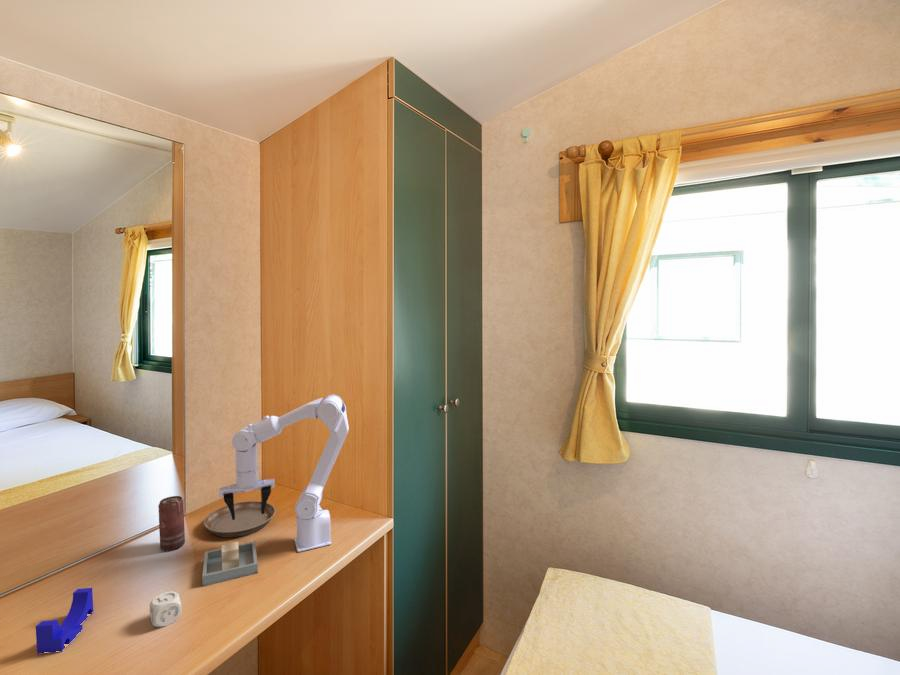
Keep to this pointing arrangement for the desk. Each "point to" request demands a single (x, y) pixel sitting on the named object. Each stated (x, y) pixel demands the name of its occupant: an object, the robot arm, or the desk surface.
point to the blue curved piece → (65, 624)
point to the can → (171, 523)
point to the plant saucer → (239, 519)
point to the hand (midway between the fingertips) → (248, 515)
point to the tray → (216, 574)
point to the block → (230, 556)
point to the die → (165, 609)
